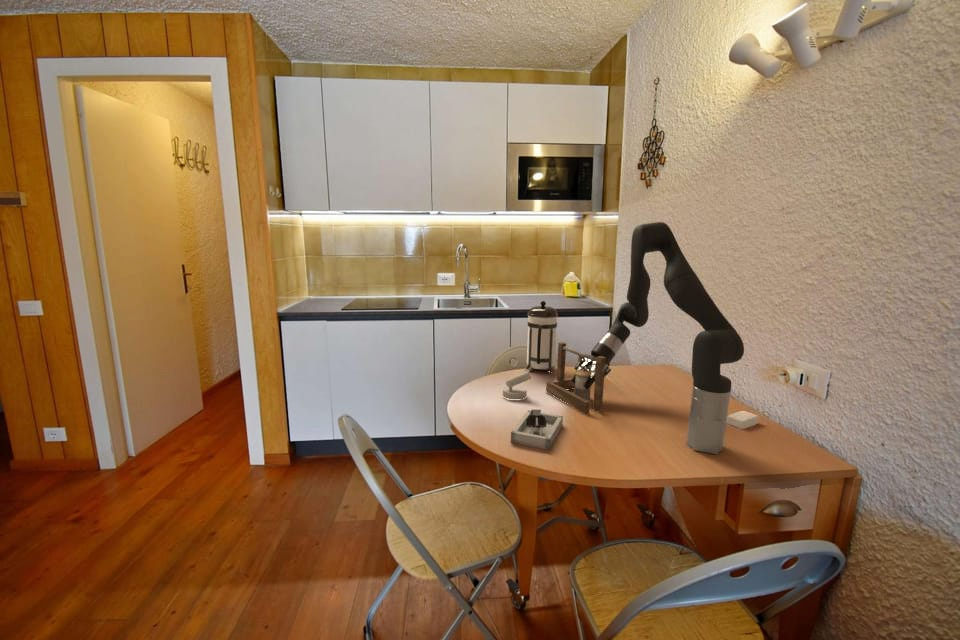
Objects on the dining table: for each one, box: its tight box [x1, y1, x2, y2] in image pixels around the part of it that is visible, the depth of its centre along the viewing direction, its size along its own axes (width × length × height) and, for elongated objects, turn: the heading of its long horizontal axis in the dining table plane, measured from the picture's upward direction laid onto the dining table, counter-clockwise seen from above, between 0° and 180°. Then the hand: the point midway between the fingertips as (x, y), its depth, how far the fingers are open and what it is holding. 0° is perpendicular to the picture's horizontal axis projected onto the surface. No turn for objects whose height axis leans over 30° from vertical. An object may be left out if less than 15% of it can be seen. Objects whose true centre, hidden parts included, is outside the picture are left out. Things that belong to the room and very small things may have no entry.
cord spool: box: [574, 369, 592, 402], centre depth 156 cm, size 6×6×10 cm
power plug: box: [526, 408, 546, 436], centre depth 130 cm, size 6×8×12 cm
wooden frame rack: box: [545, 341, 606, 415], centre depth 155 cm, size 15×22×18 cm, turn 27°
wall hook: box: [502, 370, 532, 399], centre depth 157 cm, size 9×10×10 cm
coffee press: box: [525, 300, 559, 374], centre depth 186 cm, size 17×16×30 cm
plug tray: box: [510, 410, 564, 450], centre depth 129 cm, size 17×11×3 cm, turn 157°
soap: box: [726, 410, 760, 430], centre depth 138 cm, size 9×6×3 cm, turn 120°
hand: (579, 384), depth 155 cm, fingers open, 6 cm apart
